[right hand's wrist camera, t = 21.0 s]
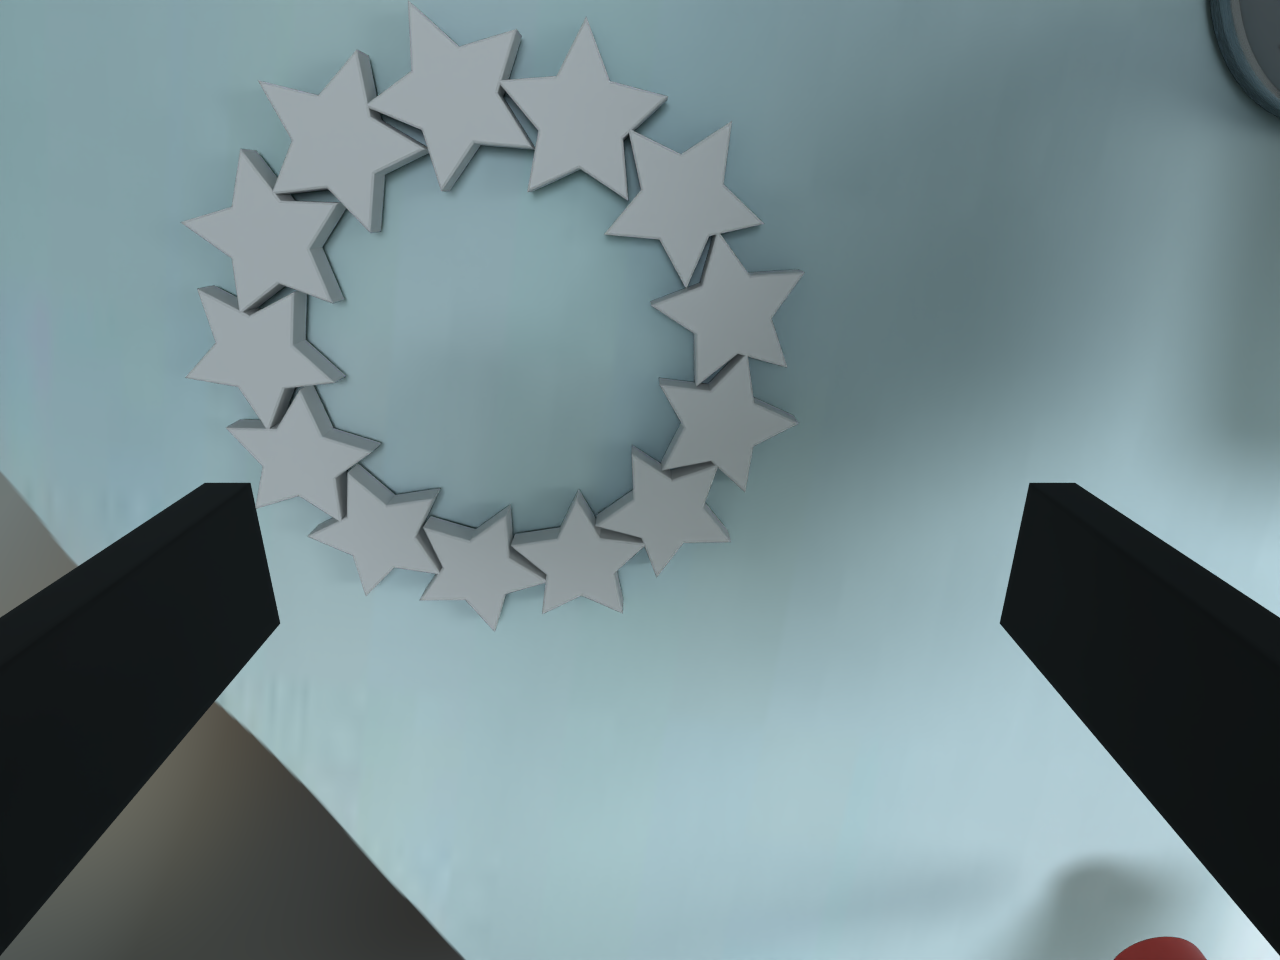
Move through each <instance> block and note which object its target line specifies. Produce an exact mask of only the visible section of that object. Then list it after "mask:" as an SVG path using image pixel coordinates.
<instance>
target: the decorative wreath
mask: <svg viewBox="0 0 1280 960" xmlns="http://www.w3.org/2000/svg"><path fill="white" fill-rule="evenodd" d="M408 11H409V31H410V52H411V71H410V72H409V73H408V74H406V75H405V76H404V77H402V78H401V79H400V80H398V81H397V82H396V83H394V84H393V85H392V86H390V87H389V88H388V89H386V90H385V91H384V92H382V93H381V94H380V95H378V96H377V95H376V90H375V84H374V79H373V74H372V69H371V64H370V59H369V55H367V54H365V53H363V52H361V51H359V50H356V51H355V52H354V53H353V54H352V56H351V57H350V58H349V59H348V60H347V62H346V63H345V64H344V65H343V66H342V67H341V69H340V70H339V71H338V72H337V73H336V75H335V76H334V77H333V78H332V79H331V81H330V82H329V83H328V84H327V85H326V87H325V88H324V89H323V90H322V91H321V93H320V94H319V95H316V94H311V93H307V92H303V91H299V90H295V89H291V88H287V87H283V86H279V85H275V84H271V83H267V82H263V81H259V80H258V82H259V83H260V85H261V87H262V89H263V90H264V92H265V94H266V96H267V97H268V99H269V101H270V103H271V104H272V106H273V108H274V110H275V112H276V113H277V115H278V117H279V119H280V120H281V122H282V124H283V126H284V127H285V129H286V131H287V133H288V134H289V136H290V138H291V140H292V142H291V144H290V147H289V149H288V152H287V155H286V157H285V160H284V163H283V165H282V168H281V170H280V173H279V176H278V178H277V176H276V175H275V174H274V173H273V171H272V170H271V169H270V167H269V166H268V165H267V163H266V162H265V161H264V159H263V158H262V157H261V156H260V154H259V153H258V152H257V151H256V150H248V149H240V155H239V161H238V168H237V175H236V181H235V188H234V195H233V201H232V207H230V208H226V209H223V210H220V211H216V212H213V213H210V214H206V215H203V216H200V217H196V218H193V219H190V220H186V221H183V222H181V223H182V224H184V225H185V226H186V227H188V228H189V229H191V230H192V231H194V232H195V233H196V234H198V235H199V236H201V237H202V238H203V239H205V240H206V241H208V242H209V243H211V244H212V245H213V246H215V247H216V248H218V249H219V250H220V251H222V252H223V253H225V254H226V255H228V256H229V257H230V258H232V264H233V271H234V278H235V284H236V291H237V297H236V296H234V295H232V294H230V293H228V292H226V291H224V290H222V289H220V288H219V287H217V286H215V285H213V286H208V287H203V288H198V289H197V290H198V293H199V296H200V298H201V301H202V304H203V307H204V310H205V313H206V316H207V319H208V321H209V324H210V327H211V330H212V333H213V336H214V339H215V342H216V343H215V344H214V345H213V346H212V348H211V349H210V350H209V351H208V352H207V353H206V354H205V356H204V357H203V358H202V359H201V360H200V361H199V362H198V364H197V365H196V366H195V367H194V368H193V369H192V370H191V372H190V373H189V374H188V375H187V376H186V377H185V378H189V379H195V380H201V381H207V382H213V383H218V384H224V385H230V386H236V387H238V388H239V389H240V390H241V392H242V393H243V395H244V396H245V398H246V399H247V401H248V402H249V404H250V405H251V407H252V408H253V410H254V411H255V413H256V414H257V416H258V417H259V419H260V420H247V419H240V420H238V421H237V422H235V423H233V424H231V425H229V426H228V427H226V428H227V429H228V431H229V432H230V433H231V434H232V435H233V436H234V437H235V438H236V439H237V440H238V441H239V442H240V443H241V444H242V445H243V446H244V447H245V448H246V449H247V450H248V451H249V452H250V454H251V455H252V456H253V457H254V458H255V459H256V460H257V461H258V462H259V463H260V464H261V465H262V466H263V468H262V473H261V479H260V485H259V490H258V496H257V501H256V509H257V508H260V507H264V506H267V505H270V504H274V503H277V502H280V501H283V500H287V499H290V498H293V497H297V496H300V497H302V498H303V499H305V500H306V501H308V502H309V503H311V504H313V505H314V506H316V507H317V508H319V509H321V510H322V511H324V512H325V513H327V514H329V515H330V516H332V517H333V518H332V519H329V520H327V521H325V522H323V523H321V524H319V525H318V526H317V527H316V528H315V529H314V530H313V531H312V532H311V533H310V534H309V535H308V537H310V538H312V539H315V540H317V541H320V542H322V543H324V544H327V545H329V546H331V547H334V548H336V549H338V550H341V551H343V552H345V553H348V554H350V555H353V558H354V561H355V564H356V567H357V570H358V573H359V576H360V580H361V583H362V586H363V589H364V592H365V595H366V596H367V595H368V594H369V593H370V592H371V591H372V590H373V589H374V588H375V587H376V586H377V585H378V584H379V583H380V582H381V581H382V580H383V579H384V578H385V577H386V576H387V575H388V574H389V573H390V571H391V570H392V569H393V568H401V569H407V570H414V571H420V572H427V573H434V574H436V575H435V576H434V577H433V579H432V580H431V582H430V583H429V584H428V586H427V587H426V589H425V591H424V593H423V595H422V596H421V598H420V600H466V601H467V602H468V603H469V604H470V606H471V607H472V608H473V609H474V610H475V611H476V612H477V613H478V614H479V615H480V616H481V617H482V619H483V620H484V621H485V622H486V623H487V624H488V625H489V626H490V627H491V628H492V629H493V630H494V631H495V630H496V627H497V624H498V621H499V618H500V614H501V611H502V607H503V604H504V600H505V597H506V594H508V593H511V592H515V591H518V590H522V589H525V588H529V587H533V586H536V585H540V584H543V583H546V584H545V592H544V601H543V609H542V614H544V613H546V612H548V611H550V610H552V609H554V608H556V607H559V606H561V605H563V604H565V603H567V602H569V601H571V600H573V599H575V598H577V597H579V596H584V597H586V598H588V599H591V600H593V601H595V602H597V603H600V604H602V605H604V606H607V607H609V608H611V609H614V610H616V611H618V612H621V613H623V596H622V591H621V587H620V582H619V578H618V573H617V571H618V570H619V569H620V568H621V567H622V566H623V565H624V564H625V563H626V562H628V561H629V560H630V559H631V558H632V557H633V556H634V555H635V554H636V553H637V552H639V551H640V550H641V549H642V548H643V547H644V546H645V548H646V551H647V554H648V556H649V559H650V561H651V564H652V567H653V569H654V572H655V575H656V577H658V575H659V574H660V573H661V571H662V570H663V569H664V568H665V566H666V565H667V564H668V562H669V561H670V560H671V558H672V557H673V556H674V555H675V553H676V552H677V551H678V549H679V548H680V547H681V546H682V544H683V543H707V542H731V540H730V536H729V532H728V530H727V529H726V527H725V526H724V525H723V524H722V522H721V521H720V520H719V519H718V518H717V516H716V515H715V514H714V513H713V511H712V510H711V509H710V508H709V506H708V505H707V504H706V503H705V501H706V498H707V496H708V493H709V490H710V487H711V485H712V482H713V479H714V476H715V474H716V471H717V468H719V469H720V470H721V471H722V472H723V473H725V474H726V475H727V476H728V477H729V478H730V479H731V480H732V481H733V482H734V483H735V484H737V485H738V486H739V487H740V488H741V489H742V490H743V491H744V492H745V491H746V485H747V480H748V474H749V468H750V463H751V457H752V451H753V446H755V445H757V444H759V443H761V442H763V441H765V440H767V439H769V438H771V437H773V436H775V435H777V434H779V433H781V432H783V431H785V430H787V429H789V428H791V427H793V426H795V425H797V424H799V422H798V421H797V419H796V418H795V417H794V415H792V414H790V413H788V412H785V411H783V410H781V409H779V408H776V407H774V406H772V405H770V404H768V403H765V402H763V401H761V400H759V399H756V398H754V397H753V391H752V383H751V376H750V369H749V361H748V357H751V358H755V359H758V360H762V361H765V362H769V363H772V364H776V365H780V366H783V367H787V365H786V362H785V359H784V355H783V352H782V349H781V346H780V343H779V340H778V337H777V334H776V331H775V327H774V324H773V321H772V317H773V316H774V315H775V313H776V312H777V310H778V309H779V308H780V306H781V305H782V303H783V302H784V301H785V299H786V298H787V296H788V295H789V294H790V292H791V291H792V290H793V288H794V287H795V285H796V284H797V283H798V281H799V280H800V278H801V277H802V276H803V274H804V273H805V272H803V271H801V270H799V269H797V270H781V271H764V272H747V271H746V269H745V268H744V266H743V265H742V264H741V262H740V261H739V259H738V258H737V257H736V255H735V254H734V252H733V251H732V250H731V248H730V247H729V245H728V244H727V243H726V241H725V240H724V238H723V237H722V236H721V233H725V232H730V231H734V230H739V229H743V228H748V227H752V226H757V225H761V224H764V223H763V222H762V221H761V220H760V219H759V218H758V217H757V216H756V215H755V214H754V213H753V212H752V211H751V210H750V209H749V208H748V207H747V206H746V205H744V204H743V203H742V202H741V201H740V200H739V199H738V198H737V197H736V196H735V195H734V194H733V193H732V192H731V191H730V190H729V189H728V188H727V187H726V186H725V185H724V177H725V169H726V162H727V154H728V147H729V139H730V132H731V125H732V121H731V122H730V123H728V124H727V125H725V126H723V127H722V128H720V129H719V130H717V131H716V132H714V133H713V134H711V135H710V136H708V137H707V138H705V139H704V140H702V141H700V142H699V143H697V144H696V145H694V146H693V147H691V148H690V149H688V150H687V151H685V152H684V153H682V154H680V153H678V152H675V151H673V150H671V149H669V148H667V147H665V146H663V145H661V144H659V143H657V142H655V141H653V140H651V139H649V138H647V137H645V136H643V135H641V134H639V133H637V132H635V130H636V129H637V128H638V127H639V126H640V125H641V124H642V123H643V122H644V121H645V120H646V119H648V118H649V117H650V116H651V115H652V114H653V113H654V112H655V111H656V110H657V109H658V108H659V107H660V106H662V105H663V104H664V103H665V102H666V101H667V98H668V96H665V95H661V94H657V93H653V92H650V91H646V90H642V89H638V88H635V87H631V86H627V85H623V84H619V83H616V82H612V81H610V80H609V77H608V74H607V71H606V69H605V66H604V63H603V61H602V58H601V55H600V52H599V50H598V47H597V44H596V41H595V39H594V36H593V33H592V31H591V28H590V25H589V22H588V20H587V17H586V18H585V20H584V22H583V24H582V26H581V28H580V30H579V32H578V34H577V36H576V38H575V40H574V42H573V44H572V46H571V48H570V50H569V52H568V54H567V56H566V58H565V60H564V62H563V64H562V66H561V68H560V70H559V72H558V74H557V76H551V77H538V78H524V79H511V80H509V77H510V74H511V71H512V67H513V64H514V61H515V58H516V54H517V51H518V48H519V44H520V41H521V38H522V35H521V34H520V33H519V31H518V30H517V29H515V30H512V31H509V32H505V33H502V34H499V35H495V36H492V37H489V38H486V39H482V40H479V41H476V42H472V43H469V44H466V45H463V46H458V45H457V44H456V43H455V42H454V41H453V40H452V39H451V38H450V37H448V36H447V35H446V34H445V33H444V32H443V31H442V30H441V29H440V28H439V27H437V26H436V25H435V24H434V23H433V22H432V21H431V20H430V19H429V18H428V17H426V16H425V15H424V14H423V13H422V12H421V11H420V10H419V9H418V8H416V7H415V6H414V5H413V4H412V3H411V2H409V1H408ZM505 91H506V92H507V93H508V95H509V96H510V97H511V98H512V99H513V101H514V102H515V103H516V104H517V105H518V107H519V108H520V109H521V110H522V111H523V113H524V114H525V115H526V116H527V118H528V119H529V120H530V121H531V122H532V124H533V125H534V126H535V127H536V128H537V130H538V136H537V141H536V147H534V145H533V144H532V142H531V140H530V139H529V137H528V136H527V134H526V132H525V131H524V129H523V128H522V126H521V124H520V123H519V121H518V120H517V118H516V116H515V115H514V113H513V112H512V110H511V108H510V107H509V105H508V104H507V102H506V101H505V99H504V93H505ZM380 113H383V114H385V115H387V116H390V117H392V118H394V119H397V120H399V121H402V122H404V123H406V124H409V125H411V126H414V127H416V128H418V129H421V130H422V132H423V135H424V138H425V141H426V144H427V147H426V146H425V145H423V144H421V143H420V142H418V141H416V140H414V139H413V138H411V137H409V136H408V135H406V134H404V133H403V132H401V131H399V130H398V129H396V128H394V127H393V126H391V125H389V124H387V123H386V122H384V121H382V120H381V115H380ZM628 136H630V141H631V145H632V150H633V155H634V159H635V164H636V169H637V173H638V178H639V182H640V187H641V191H640V192H639V193H638V194H637V195H636V197H635V198H634V199H633V200H632V201H631V203H630V204H629V205H628V206H627V207H626V209H625V210H624V211H623V212H622V213H621V215H620V216H619V217H618V218H617V219H616V221H615V222H614V223H613V224H612V225H611V227H610V228H609V229H608V230H607V231H606V233H605V234H604V235H615V236H626V237H638V238H649V239H659V240H660V241H661V243H662V245H663V247H664V249H665V251H666V252H667V254H668V256H669V258H670V260H671V262H672V264H673V265H674V267H675V269H676V271H677V273H678V275H679V276H680V278H681V280H682V282H683V284H684V286H685V288H684V289H682V290H679V291H676V292H674V293H671V294H668V295H666V296H663V297H661V298H658V299H655V300H653V301H651V306H653V307H654V308H656V309H657V310H659V311H660V312H662V313H663V314H665V315H666V316H668V317H669V318H671V319H673V320H674V321H676V322H677V323H679V324H680V325H682V326H683V327H685V328H686V329H688V330H689V331H691V332H692V333H694V380H695V382H689V381H681V380H673V379H665V378H659V385H660V386H661V388H662V390H663V392H664V393H665V395H666V397H667V399H668V400H669V402H670V404H671V406H672V407H673V409H674V411H675V412H676V414H677V416H678V418H679V419H680V421H681V423H680V425H679V427H678V429H677V431H676V433H675V435H674V437H673V439H672V441H671V443H670V445H669V447H668V449H667V451H666V453H665V455H664V457H663V458H662V460H661V463H659V462H658V461H656V460H655V459H653V458H652V457H650V456H649V455H647V454H646V453H644V452H643V451H641V450H640V449H638V448H637V447H635V446H634V445H632V474H633V490H632V491H630V492H629V493H627V494H626V495H624V496H623V497H622V498H620V499H619V500H617V501H616V502H614V503H613V504H612V505H610V506H609V507H607V508H606V509H605V510H603V511H602V512H600V513H599V514H597V518H596V517H595V516H594V514H593V512H592V510H591V509H590V507H589V505H588V504H587V502H586V500H585V499H584V497H583V495H582V494H581V492H580V490H579V489H578V491H577V493H576V495H575V497H574V499H573V502H572V504H571V506H570V508H569V510H568V512H567V514H566V516H565V518H564V520H563V522H562V524H561V526H560V527H558V528H552V529H545V530H538V531H532V532H525V533H518V534H515V536H514V538H513V532H512V516H511V504H510V505H509V506H507V507H506V508H504V509H503V510H502V511H500V512H499V513H497V514H496V515H495V516H493V517H492V518H491V519H489V520H488V521H486V522H485V523H484V524H482V525H481V526H479V527H478V528H477V529H473V528H470V527H466V526H463V525H459V524H456V523H453V522H449V521H446V520H442V519H439V518H435V517H432V516H430V517H429V519H428V520H427V522H426V524H425V525H424V523H425V521H426V518H427V516H428V514H429V512H430V510H431V508H432V506H433V503H434V501H435V499H436V497H437V495H438V493H439V491H440V488H437V489H431V490H424V491H417V492H410V493H404V494H397V495H395V494H394V493H392V492H391V491H390V490H389V489H388V488H387V487H385V486H384V485H383V484H382V483H381V482H379V481H378V480H377V479H376V478H375V477H374V476H372V475H371V474H370V473H369V472H368V471H367V470H365V469H364V468H363V467H362V466H361V465H359V464H358V463H357V462H359V461H360V460H362V459H363V458H364V457H366V456H367V455H369V454H370V453H371V452H373V451H374V450H375V449H376V448H377V447H378V446H379V445H380V444H381V443H380V442H377V441H374V440H370V439H367V438H364V437H361V436H357V435H354V434H351V433H348V432H344V431H341V430H338V429H335V428H333V426H332V424H331V422H330V419H329V417H328V415H327V413H326V411H325V409H324V407H323V404H322V402H321V400H320V398H319V396H318V394H317V392H316V389H315V387H314V385H319V384H327V383H335V382H337V381H338V380H340V379H342V378H343V377H345V376H346V375H345V374H343V373H342V372H341V371H340V370H339V369H338V368H337V367H336V366H334V365H333V364H332V363H331V362H330V361H329V360H328V359H327V358H326V357H324V356H323V355H322V354H321V353H320V352H319V351H318V350H317V349H315V348H314V347H313V346H312V345H311V344H310V343H309V342H308V341H307V340H306V310H307V294H309V295H311V296H314V297H317V298H319V299H322V300H325V301H328V302H330V303H336V302H338V301H341V300H344V297H343V295H342V293H341V290H340V288H339V285H338V283H337V281H336V278H335V276H334V274H333V271H332V269H331V267H330V264H329V262H328V260H327V257H326V255H325V252H324V250H323V248H322V247H323V245H324V243H325V242H326V240H327V239H328V237H329V235H330V234H331V232H332V231H333V229H334V227H335V226H336V224H337V223H338V221H339V219H340V218H341V216H342V214H343V213H344V211H345V210H346V208H347V209H348V210H349V211H350V212H351V213H352V214H353V215H354V216H355V217H356V219H357V220H358V221H359V222H360V223H361V224H362V225H363V226H364V227H365V228H366V229H367V230H368V231H369V232H370V233H374V232H381V224H382V210H383V197H384V183H385V174H387V173H389V172H391V171H393V170H395V169H398V168H400V167H402V166H404V165H406V164H408V163H410V162H412V161H414V160H416V159H418V158H420V157H422V156H424V155H426V154H428V153H429V154H430V157H431V160H432V163H433V167H434V170H435V173H436V176H437V179H438V182H439V186H440V189H441V191H450V190H451V188H452V187H453V185H454V184H455V182H456V181H457V179H458V178H459V176H460V175H461V173H462V172H463V170H464V169H465V167H466V166H467V165H468V163H469V162H470V160H471V159H472V157H473V156H474V154H475V153H476V151H477V150H478V148H479V147H480V145H485V146H497V147H508V148H520V149H532V150H535V152H534V158H533V163H532V169H531V174H530V180H529V185H528V191H527V192H533V191H535V190H537V189H539V188H542V187H544V186H546V185H548V184H550V183H552V182H555V181H557V180H559V179H561V178H563V177H565V176H568V175H570V174H572V173H574V172H576V171H578V170H580V169H582V170H583V171H585V172H586V173H588V174H589V175H590V176H592V177H593V178H595V179H596V180H598V181H599V182H601V183H602V184H604V185H605V186H607V187H608V188H610V189H611V190H613V191H614V192H616V193H617V194H619V195H620V196H622V197H623V198H625V199H626V200H628V189H627V177H626V165H625V153H624V140H625V139H626V138H627V137H628ZM327 189H329V190H330V191H331V192H332V193H333V195H334V196H335V197H336V198H337V199H338V200H339V201H340V202H316V201H295V200H294V199H293V197H292V196H291V195H290V194H294V193H302V192H310V191H319V190H327ZM712 235H713V237H712V241H711V244H710V248H709V251H708V255H707V258H706V262H705V265H704V269H703V273H702V276H701V280H700V283H697V284H695V285H692V286H689V287H687V286H688V284H689V281H690V279H691V277H692V274H693V272H694V270H695V268H696V265H697V263H698V261H699V258H700V256H701V254H702V251H703V249H704V247H705V244H706V242H707V240H708V238H709V236H712ZM285 286H287V287H290V288H293V289H295V290H298V291H296V292H293V293H291V294H289V295H288V296H286V297H284V298H282V299H280V300H278V301H276V302H274V303H273V304H271V305H269V306H267V307H265V308H263V309H259V308H258V307H259V306H260V305H262V304H263V303H264V302H266V301H267V300H268V299H269V298H271V297H272V296H273V295H274V294H276V293H277V292H278V291H280V290H281V289H282V288H283V287H285ZM731 359H732V360H731ZM729 360H731V361H730V362H729V363H728V364H727V365H726V366H725V367H724V368H723V369H722V370H721V371H720V372H719V373H718V374H717V375H716V376H715V377H714V378H713V379H712V380H711V381H710V382H709V383H708V384H705V383H701V382H703V381H704V380H705V379H706V378H708V377H709V376H710V375H711V374H713V373H714V372H715V371H717V370H718V369H719V368H720V367H722V366H723V365H724V364H725V363H727V362H728V361H729ZM301 386H305V387H303V388H301V389H300V390H299V392H298V393H297V395H296V397H295V398H294V400H293V402H292V404H291V405H290V407H289V409H288V410H287V408H288V405H289V403H290V400H291V397H292V395H293V392H294V389H295V387H301ZM286 411H287V412H286ZM285 413H286V414H285ZM356 463H357V464H356ZM354 464H356V465H355V466H354V467H353V468H352V469H351V470H350V471H349V472H348V477H347V473H346V470H347V469H349V468H350V467H352V466H353V465H354ZM677 467H679V468H677ZM672 468H676V469H673V470H670V469H672ZM423 525H424V526H423Z"/></svg>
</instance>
